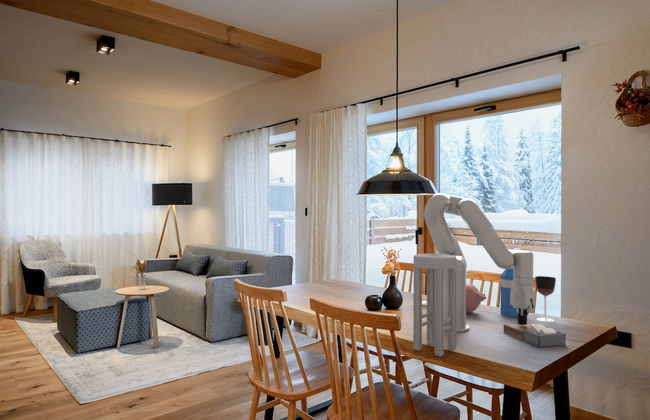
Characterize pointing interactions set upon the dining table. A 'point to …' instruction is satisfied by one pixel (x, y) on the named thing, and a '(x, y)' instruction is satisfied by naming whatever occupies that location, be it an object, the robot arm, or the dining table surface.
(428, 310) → the stool
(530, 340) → the tray
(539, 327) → the tile rear
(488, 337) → the dining table surface
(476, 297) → the pomegranate
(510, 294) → the robot arm
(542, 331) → the tile front
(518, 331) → the board
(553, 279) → the wineglass
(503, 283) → the water bottle
